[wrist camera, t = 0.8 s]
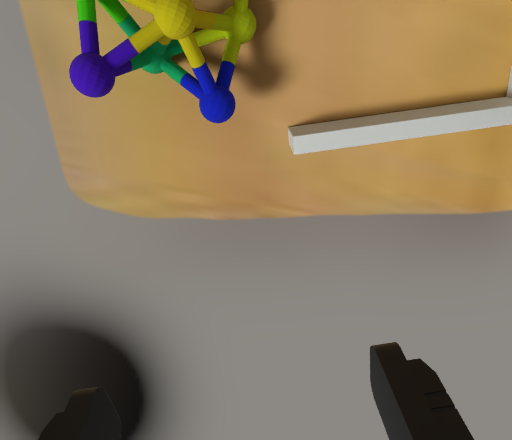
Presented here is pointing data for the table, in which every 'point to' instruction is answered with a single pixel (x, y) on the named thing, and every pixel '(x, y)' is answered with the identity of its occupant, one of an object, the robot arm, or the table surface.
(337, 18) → the table surface
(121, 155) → the table surface
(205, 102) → the decorative model
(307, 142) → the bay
